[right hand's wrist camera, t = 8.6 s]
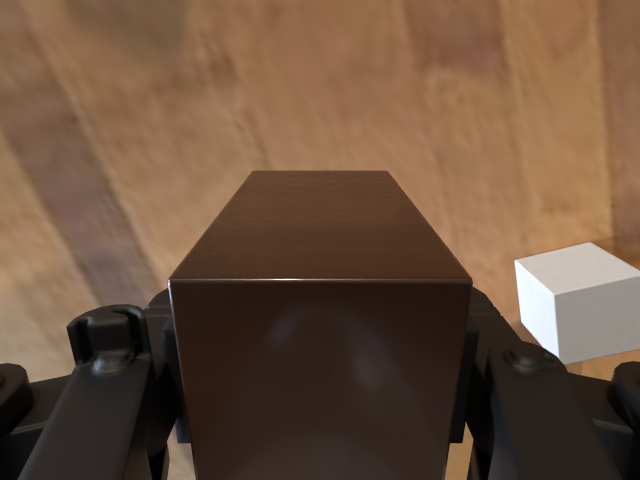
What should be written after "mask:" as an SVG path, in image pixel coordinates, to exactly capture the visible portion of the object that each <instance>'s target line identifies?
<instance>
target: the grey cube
mask: <svg viewBox="0 0 640 480" xmlns="http://www.w3.org/2000/svg"><path fill="white" fill-rule="evenodd" d="M515 269H516V278H517V287H518V296H519V304H520V313H521V322H522V323H523V324H524V325H525V327H526V328H527V329H528V330H529V331H530V332H531V334H532V335H533V336H534V337H535V338H536V340H537V341H538V342H539V343H540V344H541V345H542V347H543V348H545V349H547V350H548V351H550V352H551V353H553V354H554V355H556V356H557V357H558V358H559V359H560V361H561V362H562V363H563V364H564V365H567V364H571V363H576V362H581V361H586V360H590V359H595V358H600V357H605V356H609V355H614V354H619V353H624V352H628V351H633V350H638V349H640V271H639V270H638V269H636V268H634V267H633V266H631V265H629V264H627V263H626V262H624V261H622V260H620V259H619V258H617V257H615V256H613V255H612V254H610V253H608V252H607V251H605V250H603V249H601V248H600V247H598V246H596V245H594V244H593V243H591V242H588V243H584V244H580V245H576V246H572V247H567V248H563V249H559V250H555V251H550V252H546V253H542V254H538V255H533V256H529V257H525V258H521V259H516V260H515Z"/></svg>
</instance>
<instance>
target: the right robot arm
mask: <svg viewBox="0 0 640 480" xmlns="http://www.w3.org/2000/svg"><path fill="white" fill-rule="evenodd" d="M67 332H68V336H69V340H70V344H71V348H72V352H73V356H74V360H75V364H76V366H75V368H74V370H73V372H72V374H71V375H67V376H63V377H58V378H53V379H48V380H43V381H38V382H33V383H29V379H28V376H27V373H26V370H25V369H24V368H23V367H21V366H20V365H16V364H10V363H5V364H0V480H167V476H168V468H169V461H170V459H169V452H168V445H167V440H168V438H169V435H170V433H171V431H172V428H173V426H174V424H175V427H176V434H177V440H178V443H191V441H190V434H189V427H188V420H187V413H186V406H185V399H184V392H183V385H182V378H181V371H180V364H179V357H178V350H177V343H176V336H175V329H174V322H173V315H172V308H171V301H170V295H169V288H167V289H165V290H164V291H162V292H160V293H159V294H157V295H156V296H155V297H154V298H153V299H152V301H151V302H150V303H149V305H148V306H147V308H145V310H142V309H141V308H140V307H138V306H133V305H129V304H125V305H110V306H105V307H100V308H97V309H94V310H91V311H88V312H86V313H84V314H82V315H80V316H79V317H77V318H75V319H74V320H73V321H72V322H71V323H70V324H69V325H68V326H67ZM465 423H467V425H468V428H469V430H470V432H471V435H472V437H473V445H472V451H471V457H470V463H469V469H468V475H467V480H640V362H635V361H632V362H625V363H621V364H620V365H618V366H617V367H616V368H615V370H614V374H613V377H612V380H611V381H607V380H602V379H597V378H592V377H587V376H582V375H577V374H573V373H569V372H568V371H567V370H566V368H565V366H564V364H563V363H562V362H561V361H560V359H559V358H558V357H557V356H556V355H554V354H553V353H551V352H550V351H548V350H547V349H545V348H542V347H540V346H537V345H535V344H533V343H528V342H524V341H522V340H521V339H520V338H519V337H518V335H517V334H516V333H515V332H514V330H513V329H512V328H511V326H510V325H509V324H508V323H507V321H506V320H505V319H504V318H503V316H500V312H499V311H498V310H497V309H496V307H493V304H492V302H491V301H490V300H489V299H488V297H487V296H486V295H485V294H484V293H482V292H481V291H479V290H478V289H476V288H474V287H473V286H472V292H471V299H470V306H469V313H468V320H467V327H466V334H465V341H464V348H463V355H462V362H461V369H460V376H459V383H458V390H457V397H456V403H455V410H454V417H453V424H452V431H451V438H450V443H462V442H463V435H464V429H465Z"/></svg>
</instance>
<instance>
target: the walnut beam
mask: <svg viewBox="0 0 640 480" xmlns="http://www.w3.org/2000/svg"><path fill="white" fill-rule="evenodd" d="M472 285H473V280H472V278H471V276H470V275H469V274H468V273H467V271H466V270H465V269H464V268H463V266H462V265H461V264H460V262H459V261H458V260H457V259H456V257H455V256H454V255H453V254H452V252H451V251H450V250H449V248H448V247H447V246H446V245H445V243H444V242H443V241H442V240H441V238H440V237H439V236H438V234H437V233H436V232H435V231H434V229H433V228H432V227H431V226H430V224H429V223H428V222H427V220H426V219H425V218H424V217H423V215H422V214H421V213H420V212H419V210H418V209H417V208H416V206H415V205H414V204H413V203H412V201H411V200H410V199H409V198H408V196H407V195H406V194H405V192H404V191H403V190H402V189H401V187H400V186H399V185H398V184H397V182H396V181H395V180H394V178H393V177H392V176H391V175H390V173H389V172H388V171H252V172H251V174H250V175H249V176H248V177H247V179H246V180H245V181H244V183H243V184H242V185H241V186H240V188H239V189H238V190H237V192H236V193H235V194H234V195H233V197H232V198H231V199H230V200H229V202H228V203H227V204H226V206H225V207H224V208H223V209H222V211H221V212H220V213H219V215H218V216H217V217H216V218H215V220H214V221H213V222H212V224H211V225H210V226H209V227H208V229H207V230H206V231H205V233H204V234H203V235H202V236H201V238H200V239H199V240H198V241H197V243H196V244H195V245H194V247H193V248H192V249H191V250H190V252H189V253H188V254H187V256H186V257H185V258H184V259H183V261H182V262H181V263H180V265H179V266H178V267H177V268H176V270H175V271H174V272H173V274H172V275H171V276H170V277H169V279H168V288H169V295H170V301H171V308H172V315H173V322H174V329H175V336H176V343H177V350H178V357H179V364H180V371H181V378H182V385H183V392H184V399H185V406H186V413H187V420H188V427H189V434H190V441H191V448H192V455H193V462H194V469H195V476H196V480H445V473H446V466H447V459H448V452H449V445H450V438H451V431H452V424H453V417H454V410H455V403H456V397H457V390H458V383H459V376H460V369H461V362H462V355H463V348H464V341H465V334H466V327H467V320H468V313H469V306H470V299H471V292H472Z"/></svg>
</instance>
